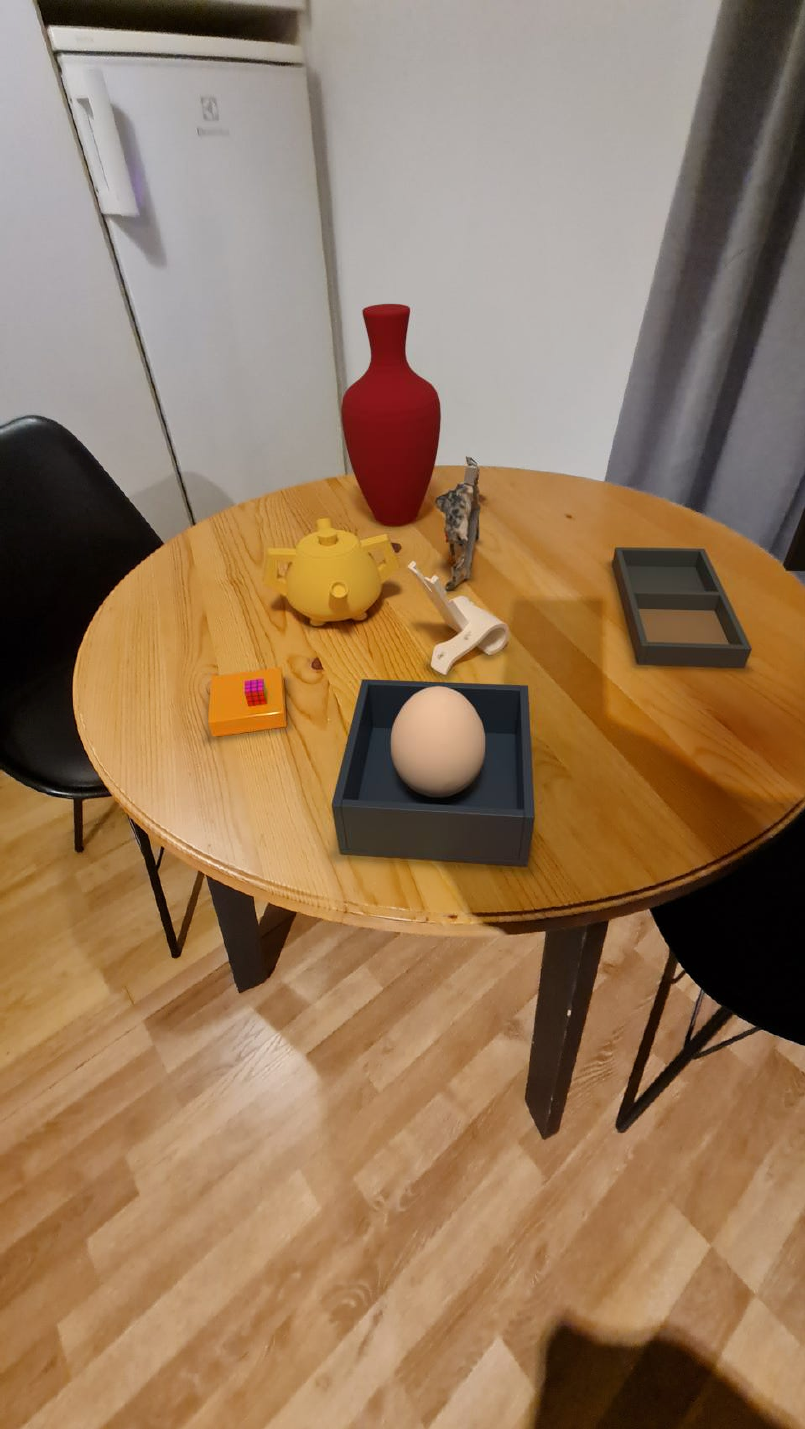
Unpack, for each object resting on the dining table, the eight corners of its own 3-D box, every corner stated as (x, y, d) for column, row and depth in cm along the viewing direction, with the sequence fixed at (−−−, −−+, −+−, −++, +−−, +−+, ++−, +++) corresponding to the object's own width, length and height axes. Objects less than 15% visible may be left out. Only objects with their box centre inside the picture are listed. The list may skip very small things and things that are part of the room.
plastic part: (508, 647, 81) (517, 563, 73) (443, 677, 77) (445, 591, 69) (469, 619, 85) (474, 537, 77) (407, 646, 81) (404, 562, 73)
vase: (376, 548, 101) (361, 326, 80) (336, 512, 110) (313, 306, 90) (457, 524, 106) (462, 309, 85) (412, 492, 115) (407, 292, 95)
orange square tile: (212, 737, 71) (202, 708, 68) (215, 690, 76) (206, 662, 74) (286, 727, 71) (280, 697, 68) (284, 681, 77) (278, 652, 74)
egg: (480, 751, 66) (485, 662, 59) (486, 819, 60) (492, 729, 52) (394, 752, 67) (389, 663, 59) (391, 819, 60) (384, 729, 53)
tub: (522, 734, 69) (528, 685, 64) (527, 867, 57) (534, 817, 52) (367, 727, 71) (362, 678, 66) (339, 854, 59) (331, 805, 54)
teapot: (415, 640, 82) (413, 561, 75) (273, 660, 80) (255, 581, 73) (388, 563, 97) (384, 490, 89) (267, 579, 95) (252, 505, 87)
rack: (699, 566, 93) (704, 548, 91) (744, 668, 76) (752, 648, 74) (611, 564, 94) (615, 547, 92) (636, 664, 77) (641, 645, 75)
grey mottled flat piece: (452, 540, 102) (453, 455, 93) (479, 542, 101) (483, 456, 92) (435, 591, 91) (434, 500, 82) (466, 593, 90) (468, 502, 81)
